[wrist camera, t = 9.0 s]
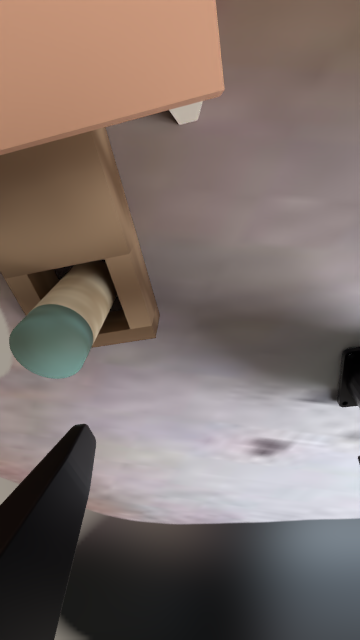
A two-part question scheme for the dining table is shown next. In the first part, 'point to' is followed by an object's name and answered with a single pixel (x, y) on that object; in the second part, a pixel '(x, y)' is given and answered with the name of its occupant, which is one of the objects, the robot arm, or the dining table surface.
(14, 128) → the footed pink board
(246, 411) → the dining table surface
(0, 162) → the socket block
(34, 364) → the peg
